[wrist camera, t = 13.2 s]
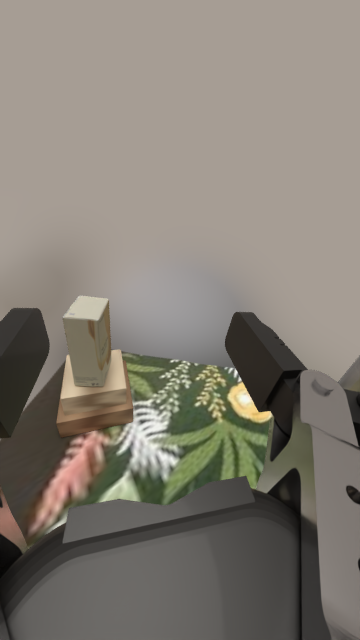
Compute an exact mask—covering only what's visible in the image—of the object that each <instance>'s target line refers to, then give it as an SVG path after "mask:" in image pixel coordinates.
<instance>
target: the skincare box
mask: <svg viewBox="0 0 360 640" xmlns="http://www.w3.org/2000/svg"><path fill="white" fill-rule="evenodd" d="M63 324H64V329H65V335H66V340H67V345H68V350H69V356H70V362H71V367H72V373H73V378H74V384H75V385H76V386H96V387H103V386H104V383H105V380H106V377H107V374H108V371H109V367H110V364H111V340H110V339H111V338H110V317H109V299H105V298H95V297H87V296H79V297H78V298H77V299H76V301H75V302H74V303H73V304H72V305H71V307H70V308H69V310H68V311H67V312H66V313H65V315H64V316H63Z"/></svg>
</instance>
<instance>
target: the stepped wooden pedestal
mask: <svg viewBox="0 0 360 640" xmlns="http://www.w3.org/2000/svg"><path fill="white" fill-rule="evenodd" d="M130 422H133V404H132V397H131V391H130V385H129V379H128V372H127V366H126V361H122V355H121V350H112V351H111V364H110V367H109V371H108V374H107V377H106V380H105V383H104V386H103V387H96V386H76V385H75V384H74V378H73V373H72V367H71V362H70V356H69V355H67V359H66V365H65V370H64V376H63V383H62V390H61V396H60V403H59V409H58V416H57V422H56V424H57V427H58V430H59V434H60V437H61V438H63V437H67V436H72V435H76V434H81V433H85V432H90V431H94V430H99V429H103V428H108V427H112V426H117V425H121V424H126V423H130Z"/></svg>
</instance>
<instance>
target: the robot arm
mask: <svg viewBox="0 0 360 640" xmlns="http://www.w3.org/2000/svg"><path fill="white" fill-rule="evenodd" d="M225 347H226V351H227V353H228V354H229V356H230V358H231V360H232V362H233V364H234V366H235V368H236V370H237V372H238V374H239V375H240V377H241V379H242V381H243V383H244V385H245V387H246V389H247V391H248V392H249V394H250V396H251V398H252V400H253V402H254V404H255V406H256V408H257V410H258V411H259V412H265V411H271V413H272V414H273V416H272V418H271V419H270V425H269V433H268V440H267V448H266V456H265V463H264V468H263V471H262V474H261V476H260V478H259V481H258V484H257V488H256V490H255V489H252V488H250V485H249V482H248V480H247V477H246V476H243V477H237V478H232V479H226V480H221V481H216V482H210V483H207V484H206V485H204V486H202V487H200V488H199V489H197V490H195V491H193V492H192V493H190V494H188V495H186V496H184V497H183V498H181V499H179V500H177V501H176V502H174V503H172V504H170V505H157V504H150V503H143V502H136V501H129V500H122V499H117V500H111V501H106V502H100V503H95V504H89V505H84V506H78V507H73V508H69V511H68V516H67V522H66V523H64V524H63V525H61V526H59V527H57V528H56V529H54V530H53V531H51V532H50V533H48V534H47V535H45V536H44V537H43V538H41V539H40V540H39V541H38V542H36V543H35V544H34V545H33V546H31V547H30V548H29V549H28V548H27V545H26V543H25V540H24V537H23V535H22V533H21V531H20V529H19V527H18V525H17V523H16V521H15V520H14V518H13V516H12V514H11V512H10V510H9V508H8V505H7V502H6V499H5V496H4V494H3V491H2V488H1V485H0V640H360V356H359V357H358V358H357V360H356V361H355V362H354V363H353V364H352V366H351V367H350V368H349V369H348V370H347V372H346V373H345V374H344V375H343V376H342V378H341V379H340V380H339V381H338V382H336V381H335V380H334V379H332V378H331V377H329V376H328V375H326V374H324V373H322V372H319V371H315V370H308V369H307V368H306V367H305V366H304V365H303V364H302V363H301V362H300V360H299V359H298V358H297V357H296V356H295V355H294V354H293V352H291V350H290V349H289V348H288V347H287V346H285V343H284V342H283V341H282V340H281V339H279V337H278V336H277V334H276V333H275V332H274V331H273V330H272V329H271V328H269V327H268V326H266V325H265V324H263V323H262V322H261V321H260V320H259V319H258V318H257V317H256V315H255V314H254V313H252V312H236V313H234V315H233V317H232V320H231V323H230V326H229V329H228V332H227V336H226V339H225ZM48 353H49V338H48V335H47V331H46V328H45V324H44V320H43V317H42V313H41V311H40V310H39V309H38V308H13V309H11V310H10V312H9V313H8V314H7V315H6V316H5V317H4V318H3V320H2V321H0V438H9V437H11V435H12V433H13V431H14V428H15V426H16V424H17V422H18V420H19V417H20V415H21V413H22V411H23V409H24V407H25V404H26V402H27V400H28V398H29V396H30V393H31V391H32V389H33V387H34V385H35V383H36V380H37V378H38V376H39V374H40V371H41V369H42V367H43V365H44V363H45V361H46V359H47V356H48Z"/></svg>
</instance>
